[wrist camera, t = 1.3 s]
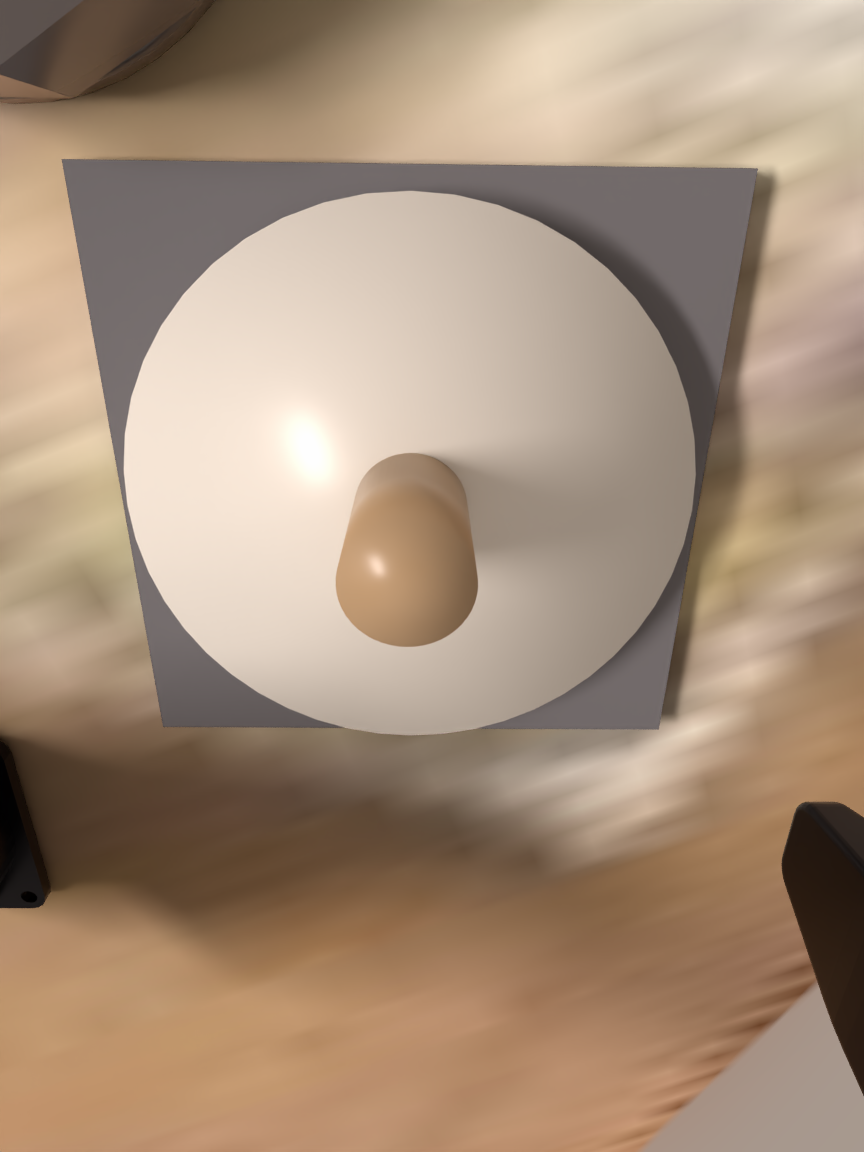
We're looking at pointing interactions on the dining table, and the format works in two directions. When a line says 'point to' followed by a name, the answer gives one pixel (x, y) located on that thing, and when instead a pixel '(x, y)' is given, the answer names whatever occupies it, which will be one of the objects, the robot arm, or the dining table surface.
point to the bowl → (84, 43)
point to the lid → (409, 463)
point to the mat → (545, 193)
